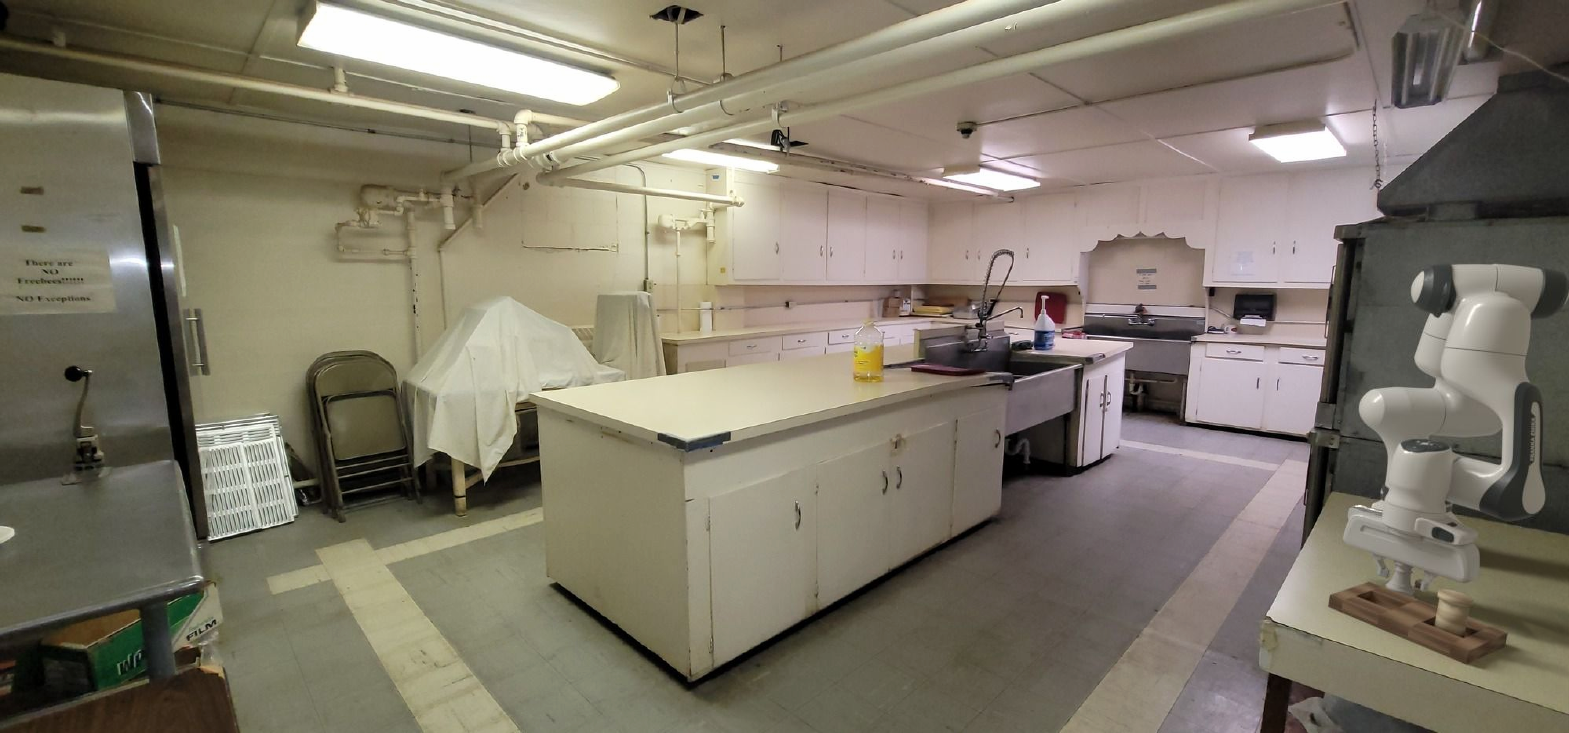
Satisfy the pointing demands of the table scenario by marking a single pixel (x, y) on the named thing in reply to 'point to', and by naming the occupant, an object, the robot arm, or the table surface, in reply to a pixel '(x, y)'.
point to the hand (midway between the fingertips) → (1401, 582)
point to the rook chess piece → (1401, 579)
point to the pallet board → (1422, 620)
